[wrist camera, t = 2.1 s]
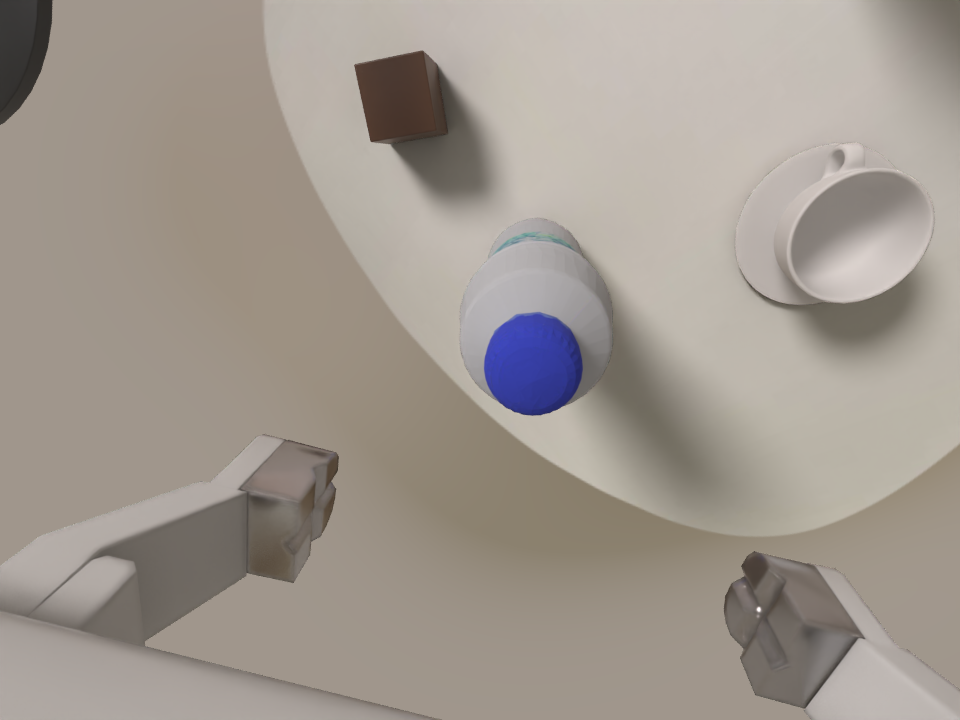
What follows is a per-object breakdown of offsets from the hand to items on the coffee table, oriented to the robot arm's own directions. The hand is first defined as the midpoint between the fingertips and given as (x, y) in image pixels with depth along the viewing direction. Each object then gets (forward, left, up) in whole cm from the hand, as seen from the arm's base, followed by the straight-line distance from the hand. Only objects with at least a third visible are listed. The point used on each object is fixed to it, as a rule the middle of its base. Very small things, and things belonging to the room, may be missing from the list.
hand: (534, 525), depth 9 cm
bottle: (0, 0, -27) cm, 27 cm away
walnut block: (-10, +8, -27) cm, 29 cm away
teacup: (+17, +6, -27) cm, 32 cm away
